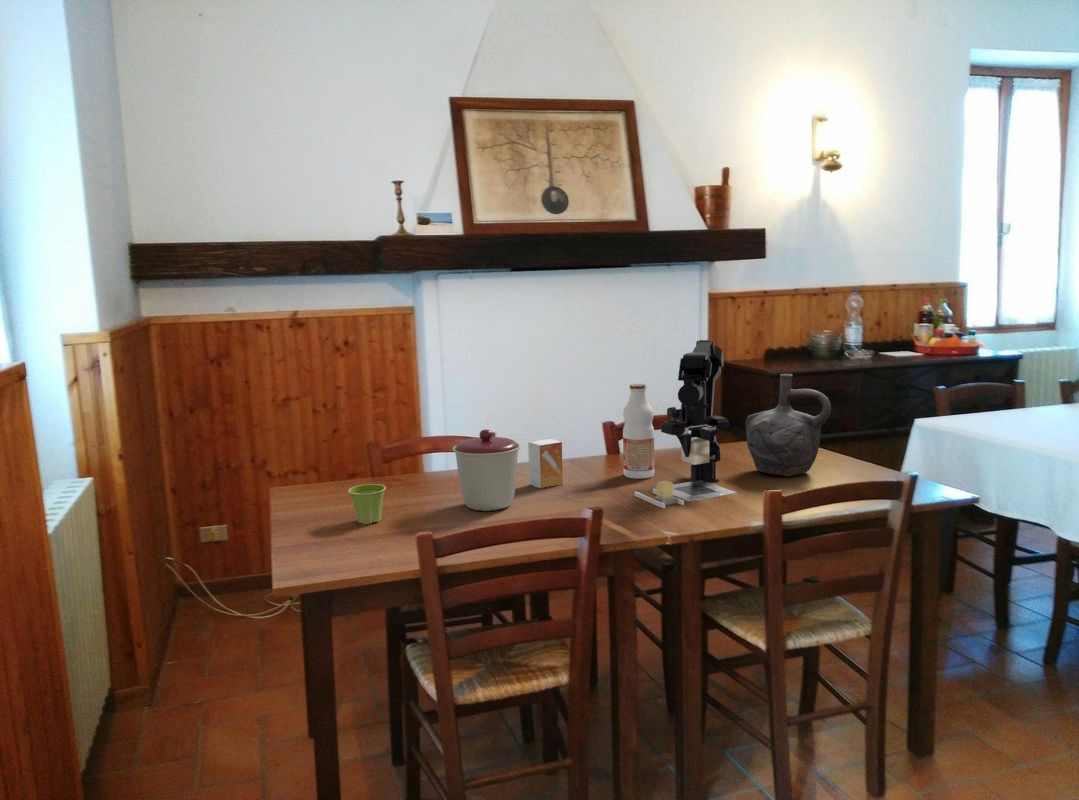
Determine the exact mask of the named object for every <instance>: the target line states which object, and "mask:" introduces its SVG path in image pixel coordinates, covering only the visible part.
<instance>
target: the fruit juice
mask: <svg viewBox="0 0 1079 800" xmlns="http://www.w3.org/2000/svg"><path fill="white" fill-rule="evenodd" d="M629 390H630V394H629V399H628V401H627V404H626V405H625V407H624V408H623V411H622V415H623V417H622V418H623V420H624V424H623V425H624V426H623V429H622V447H623V448H622V453H623V454H622V456H623V459H622V461H623V463H622V465H623V469H622V470H623V475H624V477H625V478H628V479H634V480H635V479H636V480H638V479H640V480H643V479H650V478H652V477H654V476H655V428H654V426H653V420H654V414H655V413H654V409H653V407H652V406H651V403H650V402H649V400H648V397H647V393H646V390H647V384H645V383H631V384H629Z"/></svg>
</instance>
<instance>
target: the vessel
mask: <svg viewBox="0 0 1079 800" xmlns="http://www.w3.org/2000/svg"><path fill="white" fill-rule="evenodd" d="M779 377H780V378H779V398H778V404H777V406H775V408H772V409H769V410H764V411H760V412H756V413H753V414H749V415H748V416H747V417H746V420H745V429H746V430H745V432H746V445H747V448H748V450H749V453H750V456H751V458H752V461H753V464H754V467H755V469H756V470H758V471H759V472H761V473H765V474H770V475H776V476H778V475H779V476H782V477H783V476H784V477H791V476H795V474H796V475H800V474H805V473H807V472H809V471H810V470H811V469H812V467H813V465H814V463H815V461H816V458H817V455H818V453H819V447H820V440H821V430H822V428H821V427H822V425H823V424H825V422H826V421H827V420H829V417H830V415H831V413H832V405H831V402H830V399H829V398H828V396H826V395H825V394H824V393H822V392H820V391H818V390H817V389H812V388H811V389H810V388H798V389H793V388H792V381H793V374H792V373H782V374H780V375H779ZM799 398H801V399H802V398H808V399H809V398H810V399H815V400H817V401H818V402H819V403H820V405H821V411H820V413H819V414H818V415H816V416H815V415H814V416H813V415H810V414H809V413H804V412H801V411H798V410H794V409H793V408H792V406H791V401H792V400H794V399H799Z"/></svg>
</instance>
